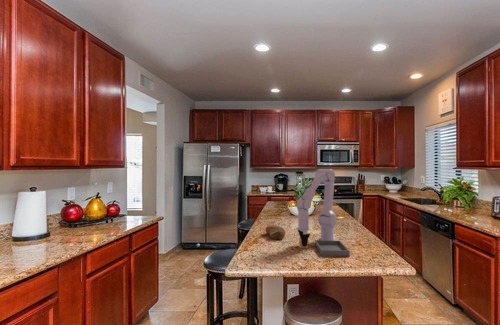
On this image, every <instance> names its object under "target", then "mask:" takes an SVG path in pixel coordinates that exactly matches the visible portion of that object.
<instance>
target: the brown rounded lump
mask: <svg viewBox="0 0 500 325" xmlns="http://www.w3.org/2000/svg"><path fill="white" fill-rule="evenodd" d="M265 232H266V233H267V235H269V237H270V238H271V239H273V240H283V239H284V238H285V237H286V230H285V228H282V227H281V226H279V225H274V224H273V225H268V226H265Z"/></svg>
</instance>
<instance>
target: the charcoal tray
mask: <svg viewBox="0 0 500 325" xmlns="http://www.w3.org/2000/svg"><path fill="white" fill-rule="evenodd" d="M314 244H315V245H314V246H315V248H316V249H317V251H318V253H319V254H320V256H321V257H334V258H335V257H338V258H339V257H343V258H344V257H345V258H346V257H347V258H348V257H349V258H350V257H351V251H350V249H349V248H348V247H347V245H345V244H344V243H343V242H342V241H341V240H334V241H328V240H320V239H319V240H315V242H314Z"/></svg>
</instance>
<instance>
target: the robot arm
mask: <svg viewBox="0 0 500 325" xmlns="http://www.w3.org/2000/svg"><path fill="white" fill-rule="evenodd" d="M335 178H336V173H335V171H334V169H332V168H318V169H317V170H316V171H315V173H314V179H313V181H312V182H311V185H310V187H309V188H305V190H304V192H303V195H302V196H301V197H300V198H299V199H298V200H297V201H296V204H295V207H296V209H297V214H298V218H297V220H298V221H297V222H298V224H297V225H298V227H296V230H297V232H298V234H299V238H301V240H302V246H307V241H308V242H309V237H310V235H311V234H310V233H308V232H309V230H310V226H309V223H310V222H309V221H310V220H309V215H310V214H309V209H310V208H311V206H312V201H313V199H314V197H315V195H316V190H317V188H319V186H320V184H321V183H323V184H324V193H323V194H324V195H323V204H322V205H323V209H322V210H321V211H320V212H319V217H318V219H317V220H318V224H319V225H320V237H319V238H318V239H319V240H328V241H335V240H334V236H335V235H334V233H335V232H334V231H335V230H334V228H335V227H336V225H337V214H336V213H335V212H334V210H333V204H334V194H335V193H334V191H335Z"/></svg>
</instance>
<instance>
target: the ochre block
mask: <svg viewBox="0 0 500 325" xmlns="http://www.w3.org/2000/svg"><path fill="white" fill-rule="evenodd" d="M298 246H299V249H309V240H308V241H307V246H302V240H301V238H300V237H299V238H298Z"/></svg>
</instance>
